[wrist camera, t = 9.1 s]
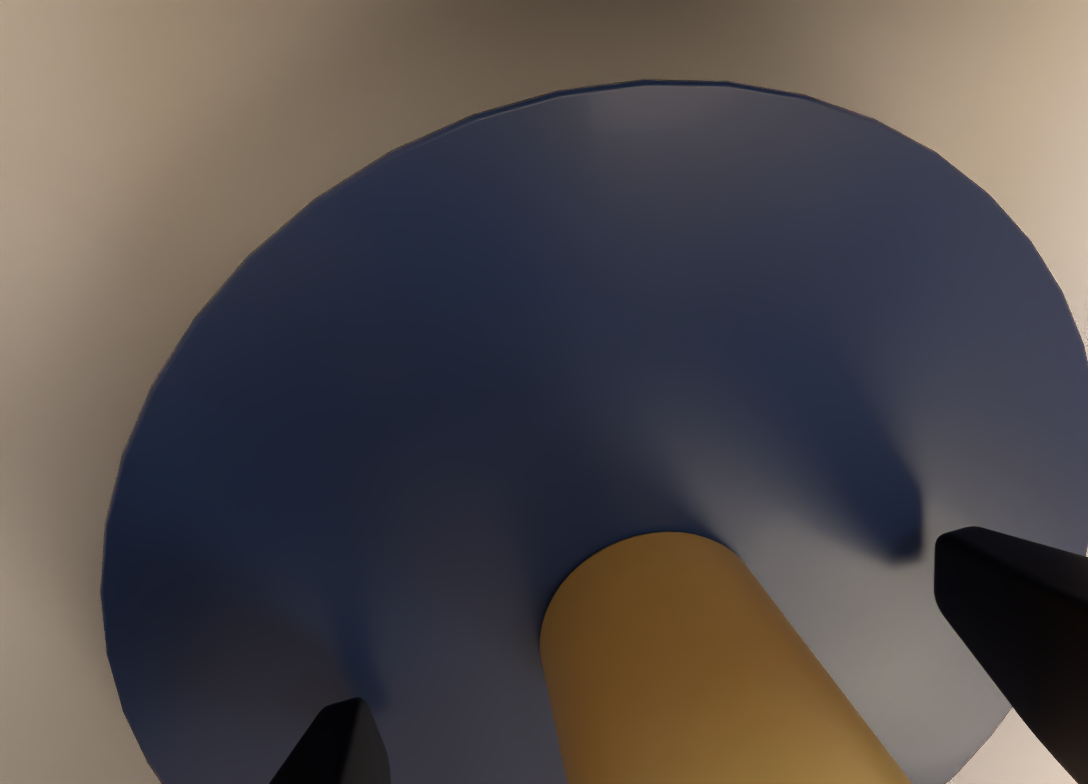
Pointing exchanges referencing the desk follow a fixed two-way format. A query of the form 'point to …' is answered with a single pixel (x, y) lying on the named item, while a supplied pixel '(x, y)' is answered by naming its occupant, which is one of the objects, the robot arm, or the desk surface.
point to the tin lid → (599, 456)
